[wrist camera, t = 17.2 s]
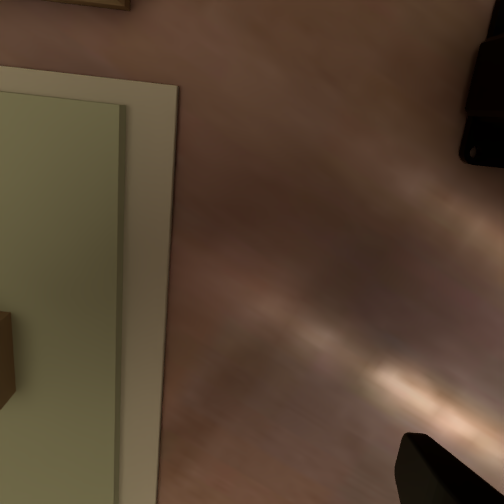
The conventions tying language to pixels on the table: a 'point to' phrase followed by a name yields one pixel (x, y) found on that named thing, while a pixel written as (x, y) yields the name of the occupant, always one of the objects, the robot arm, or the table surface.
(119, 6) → the toolbox
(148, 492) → the mat
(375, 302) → the table surface
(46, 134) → the lid
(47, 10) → the table surface
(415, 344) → the table surface
